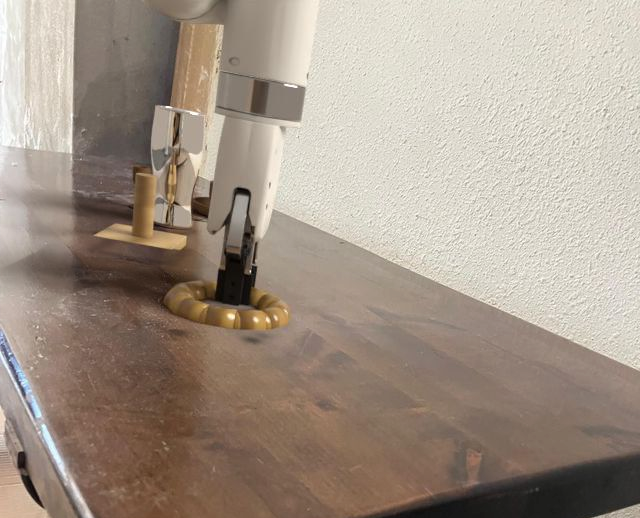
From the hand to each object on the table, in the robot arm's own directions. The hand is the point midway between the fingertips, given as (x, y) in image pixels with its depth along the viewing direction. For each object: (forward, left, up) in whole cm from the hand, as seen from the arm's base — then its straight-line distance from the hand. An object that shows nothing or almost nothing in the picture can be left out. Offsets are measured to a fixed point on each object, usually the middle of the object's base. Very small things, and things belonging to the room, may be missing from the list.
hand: (233, 306), depth 71 cm
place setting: (-12, +52, 0) cm, 53 cm away
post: (-14, +20, 0) cm, 24 cm away
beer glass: (-14, +37, 0) cm, 39 cm away
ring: (0, -4, +1) cm, 4 cm away
